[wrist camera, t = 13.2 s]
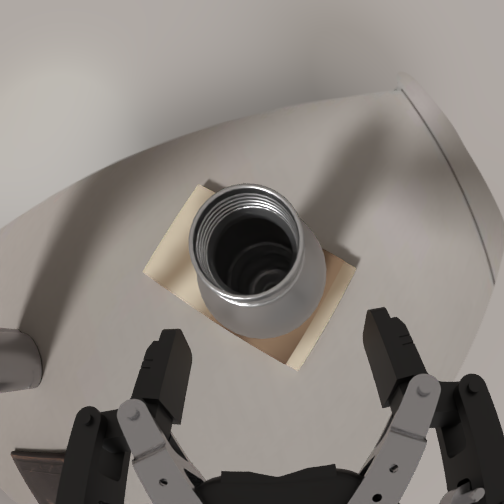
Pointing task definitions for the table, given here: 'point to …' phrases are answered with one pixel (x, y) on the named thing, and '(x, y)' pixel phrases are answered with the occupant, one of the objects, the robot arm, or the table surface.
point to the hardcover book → (40, 473)
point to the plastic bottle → (256, 261)
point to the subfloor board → (186, 288)
